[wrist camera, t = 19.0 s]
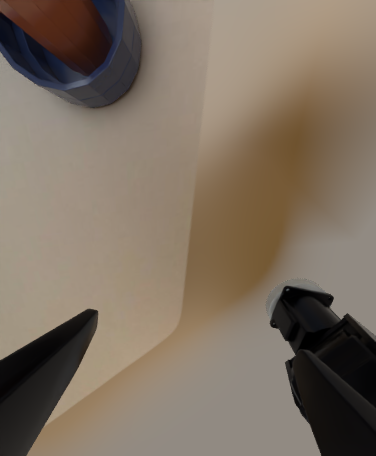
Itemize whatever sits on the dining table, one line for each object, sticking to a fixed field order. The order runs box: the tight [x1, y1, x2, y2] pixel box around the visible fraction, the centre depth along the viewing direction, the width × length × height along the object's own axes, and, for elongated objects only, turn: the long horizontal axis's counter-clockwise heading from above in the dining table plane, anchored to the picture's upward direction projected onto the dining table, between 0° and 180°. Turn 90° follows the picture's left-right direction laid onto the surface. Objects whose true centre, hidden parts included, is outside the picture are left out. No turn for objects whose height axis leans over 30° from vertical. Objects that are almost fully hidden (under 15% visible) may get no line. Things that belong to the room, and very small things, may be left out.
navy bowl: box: [0, 0, 141, 108], centre depth 14 cm, size 9×9×4 cm
